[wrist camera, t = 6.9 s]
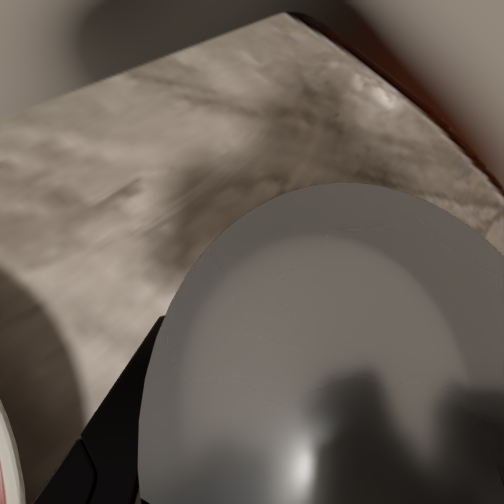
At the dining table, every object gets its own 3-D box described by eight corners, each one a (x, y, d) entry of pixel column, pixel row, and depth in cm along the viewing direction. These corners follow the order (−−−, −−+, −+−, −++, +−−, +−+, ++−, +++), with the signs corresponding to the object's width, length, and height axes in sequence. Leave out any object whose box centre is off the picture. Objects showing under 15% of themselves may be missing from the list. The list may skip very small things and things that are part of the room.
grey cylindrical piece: (302, 345, 15) (648, 374, 3) (238, 428, 13) (533, 1108, 2) (236, 280, 15) (348, 112, 4) (165, 351, 13) (-31, 435, 2)
